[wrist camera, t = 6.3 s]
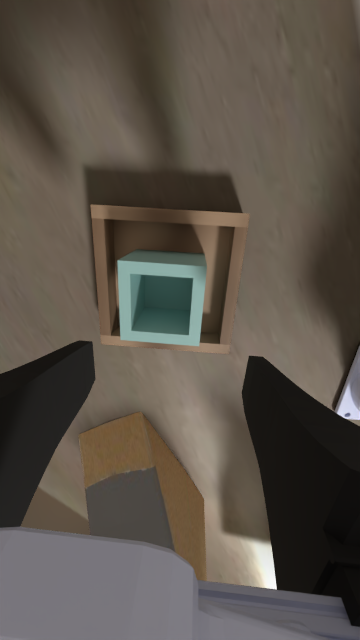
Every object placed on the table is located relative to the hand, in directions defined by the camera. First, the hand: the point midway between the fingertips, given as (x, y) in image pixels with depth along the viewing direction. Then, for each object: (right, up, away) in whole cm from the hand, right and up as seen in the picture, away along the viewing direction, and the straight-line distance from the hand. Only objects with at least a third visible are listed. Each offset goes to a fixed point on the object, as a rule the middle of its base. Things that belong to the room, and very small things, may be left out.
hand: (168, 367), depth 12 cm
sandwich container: (-4, -15, +18) cm, 23 cm away
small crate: (0, +5, +8) cm, 9 cm away
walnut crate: (0, +5, +8) cm, 10 cm away
